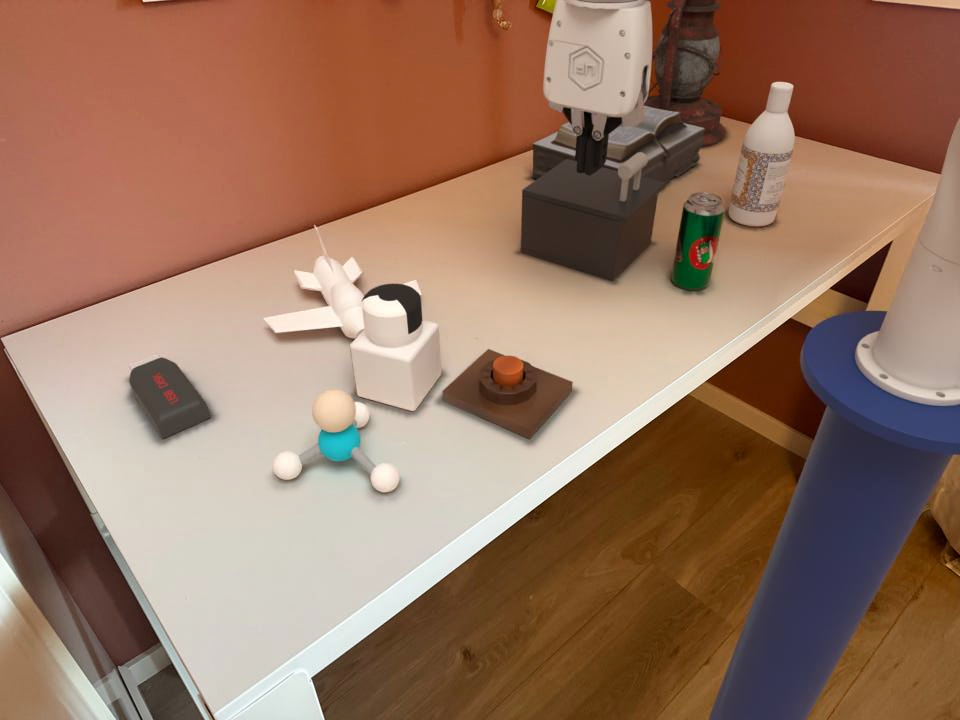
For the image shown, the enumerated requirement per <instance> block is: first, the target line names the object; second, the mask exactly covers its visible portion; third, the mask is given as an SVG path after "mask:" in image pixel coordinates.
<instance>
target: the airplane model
mask: <svg viewBox="0 0 960 720" xmlns="http://www.w3.org/2000/svg"><path fill="white" fill-rule="evenodd" d="M313 227H314V230H315V232H316V236H317V239H318V242H319V246H320V250H321V252H322V255H320V256H318V257H317V258H316V260H315V261H314V265H313V269H312V272H309V271H301V270H295V269H294V270H293V272H294V274H295V278H296V279H297V281H298V282H297V283H298V284H299V286H300V288H301V289H303V290H309V291H315V292H320V294H321V296H322V297H323V299H324V301H325V302H326V304H327V306H322V307H321V306H320V307H318V308H317V307H316V308H311V309H305V310H300V311H299V310H298V311H293V312H289V313H283V314H277V315H272V316H271V315H270V316H266V317H262V319H263V320H264V322H265V323H266V324H267V326H269V327H270V329H271V330H272V331H273V333H274V334H282V333H290V332H300V331H310V330H319V329H329V328H340V329H341V331H342V333H343V334H344V335H345V337H347V338H350V339H356V338H357V337H358V336H359V334H360V333H361V332H362V331H363V330H364V329H365V326H364V318H363V311H362V303H361V302H362V299H363V297H364V296H365V294H364V293H363V292H362V291H361V290H360V289H359V288H358V287H357V286H356V285H355V284H354V283H355V282H356V281H357V280H358V279H360V278H361V276H363V274H364V271H363V270H362V269H361V267H360V266H359V264H358V263H357V261H356V259H355V258H354V256H351V257H350V258H349V259H348V260H347V261H346V262H345V263H344V264H343V265H342V264H341V263H340V262H339V261H337V260H335V259H334V258H332V257H330V256H329V255H328V252H327V249H326V247H325V244H324V242H323V240H322V237H321V235H320V232H319V229H318V227H317V226H316V225H315V224H313ZM402 284H403V285H407V286H410V287H412V288H413V289H415V290H416V291H417V292H418V293H419V294H420V297H422V295H423V294H422V291H421V289H420V286H419V284H418V281H417V279H414V280H411V281H407V282H405V283H402Z"/></svg>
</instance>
